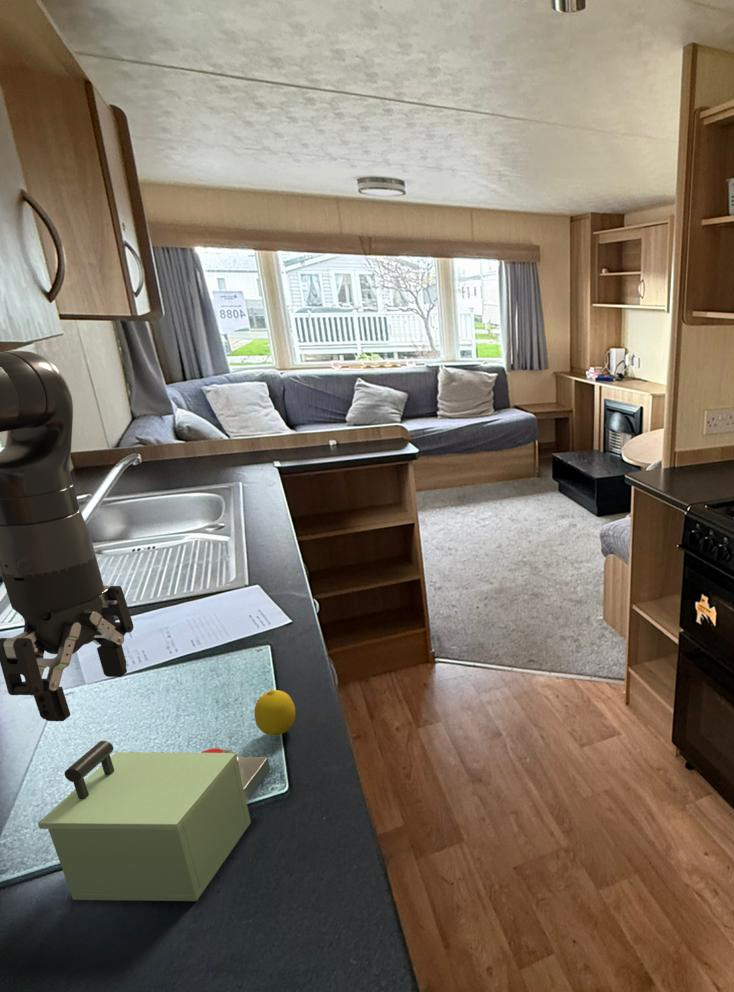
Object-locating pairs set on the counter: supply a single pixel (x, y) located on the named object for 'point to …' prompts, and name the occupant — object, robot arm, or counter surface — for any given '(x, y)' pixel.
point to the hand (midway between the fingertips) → (88, 696)
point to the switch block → (251, 772)
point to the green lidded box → (156, 851)
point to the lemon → (274, 712)
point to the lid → (136, 789)
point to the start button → (213, 751)
